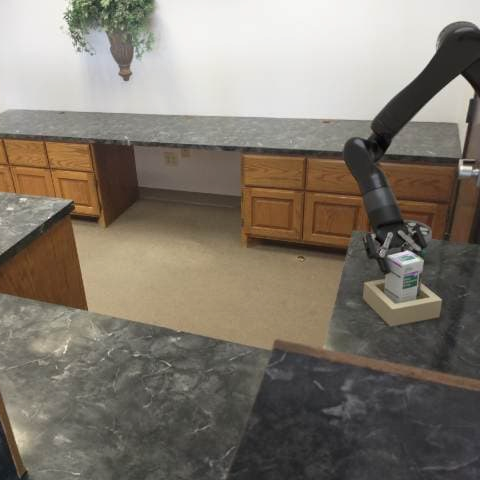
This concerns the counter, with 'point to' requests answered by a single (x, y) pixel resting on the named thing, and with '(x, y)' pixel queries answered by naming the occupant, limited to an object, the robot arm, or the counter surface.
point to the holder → (401, 305)
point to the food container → (425, 232)
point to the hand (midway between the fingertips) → (404, 270)
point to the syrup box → (403, 277)
